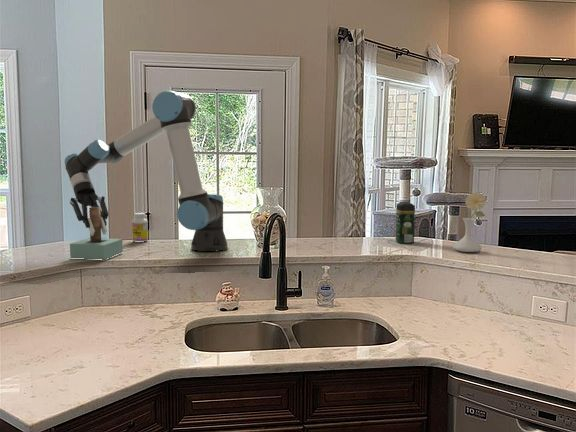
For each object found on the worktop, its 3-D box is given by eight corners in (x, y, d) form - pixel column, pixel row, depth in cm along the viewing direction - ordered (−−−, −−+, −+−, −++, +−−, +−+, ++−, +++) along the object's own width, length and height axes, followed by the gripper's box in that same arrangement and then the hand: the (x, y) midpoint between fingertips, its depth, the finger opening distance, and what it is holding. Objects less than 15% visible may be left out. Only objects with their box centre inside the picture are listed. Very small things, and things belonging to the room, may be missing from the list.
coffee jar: (393, 240, 252) (395, 200, 250) (410, 240, 252) (412, 200, 250) (397, 244, 242) (399, 202, 240) (415, 244, 242) (417, 203, 240)
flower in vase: (447, 251, 227) (450, 191, 224) (462, 248, 234) (465, 190, 231) (475, 255, 217) (479, 193, 214) (490, 252, 224) (494, 192, 221)
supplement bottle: (129, 242, 243) (128, 213, 241) (140, 240, 249) (139, 212, 247) (140, 243, 240) (140, 214, 238) (151, 241, 246) (150, 213, 244)
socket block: (122, 253, 216) (122, 239, 215) (104, 261, 202) (104, 245, 202) (90, 252, 219) (90, 237, 218) (70, 259, 205) (69, 243, 204)
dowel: (103, 242, 212) (102, 207, 210) (97, 244, 208) (96, 208, 206) (93, 242, 212) (92, 206, 210) (88, 244, 208) (87, 208, 207)
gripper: (101, 192, 225) (118, 236, 214) (58, 193, 214) (74, 241, 203) (106, 179, 220) (123, 225, 209) (62, 181, 209) (78, 228, 199)
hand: (99, 232), depth 206 cm, fingers closed on dowel, 4 cm apart
